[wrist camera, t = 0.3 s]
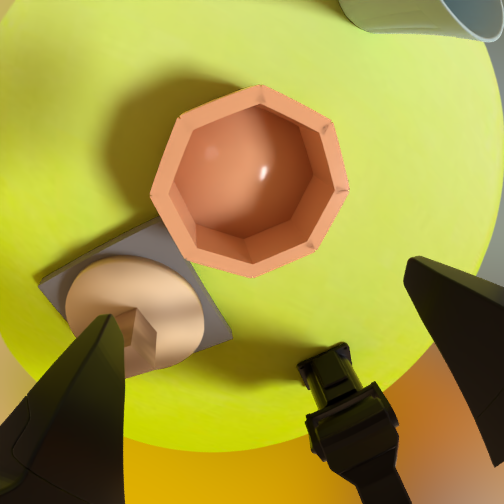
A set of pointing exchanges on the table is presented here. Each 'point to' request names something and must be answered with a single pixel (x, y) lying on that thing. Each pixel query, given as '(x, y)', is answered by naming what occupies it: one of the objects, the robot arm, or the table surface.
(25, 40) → the table surface
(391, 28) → the cup
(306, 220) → the ring
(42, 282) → the mat
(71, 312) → the lid
